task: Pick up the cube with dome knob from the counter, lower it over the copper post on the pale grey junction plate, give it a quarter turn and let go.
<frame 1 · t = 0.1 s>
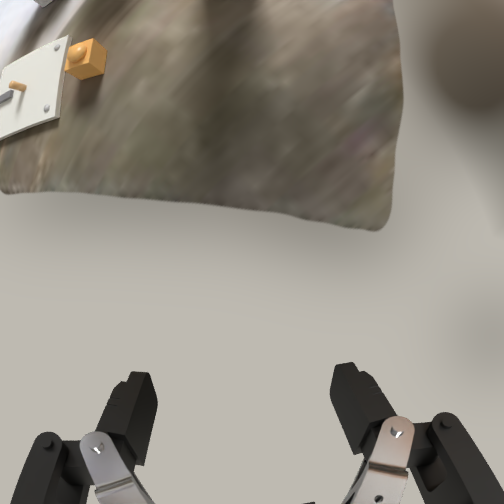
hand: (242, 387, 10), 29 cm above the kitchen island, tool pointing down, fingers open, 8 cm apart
cube with dome knob: (93, 65, 29), on the kitchen island
junction plate: (28, 89, 28), on the kitchen island
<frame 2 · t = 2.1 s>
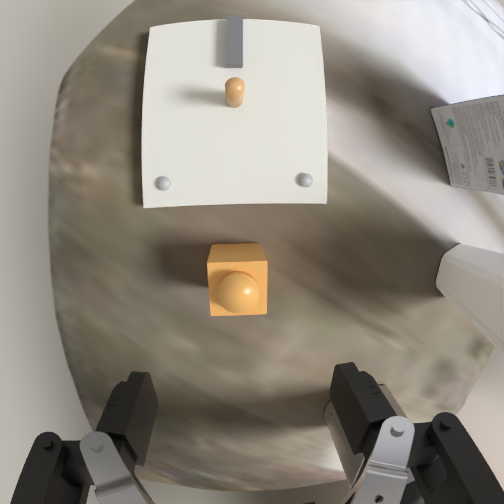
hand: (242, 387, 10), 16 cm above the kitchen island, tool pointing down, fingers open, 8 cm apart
cup: (453, 270, 28), on the kitchen island
cube with dome knob: (236, 266, 26), on the kitchen island
junction plate: (234, 104, 22), on the kitchen island
ink cartridge box: (453, 144, 24), on the kitchen island
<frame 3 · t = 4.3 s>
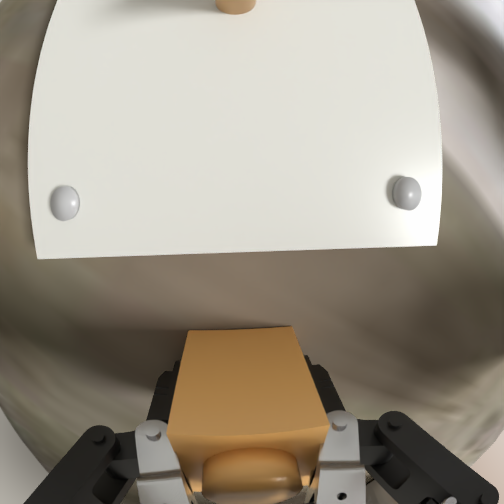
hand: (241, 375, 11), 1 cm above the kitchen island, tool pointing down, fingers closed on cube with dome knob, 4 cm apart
cube with dome knob: (241, 368, 12), on the kitchen island, touching gripper
junction plate: (234, 20, 8), on the kitchen island
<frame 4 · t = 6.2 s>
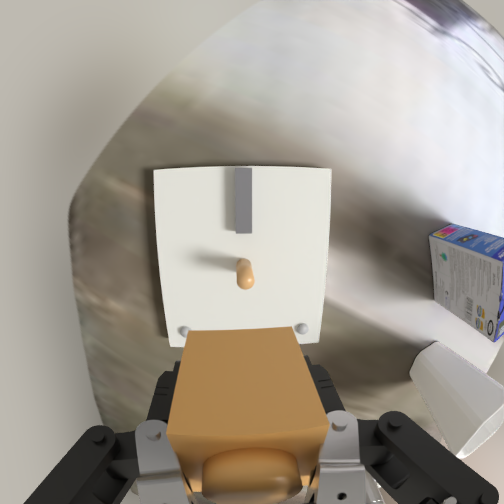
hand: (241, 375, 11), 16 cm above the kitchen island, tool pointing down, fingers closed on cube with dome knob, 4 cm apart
cup: (427, 360, 33), on the kitchen island
cube with dome knob: (241, 368, 12), point 16 cm above the kitchen island, touching gripper
junction plate: (243, 261, 27), on the kitchen island
ink cartridge box: (444, 262, 29), on the kitchen island
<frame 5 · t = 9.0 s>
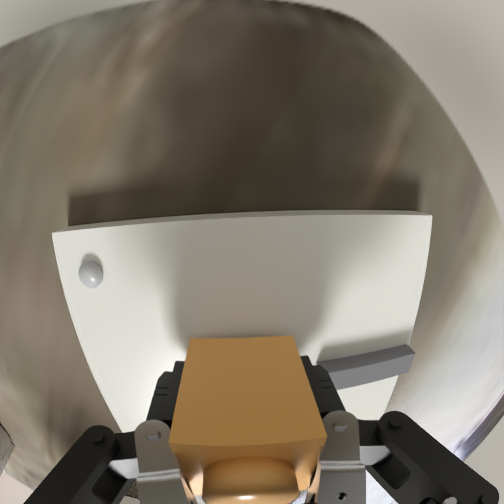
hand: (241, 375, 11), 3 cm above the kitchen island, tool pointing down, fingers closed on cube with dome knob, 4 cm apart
cup: (131, 501, 21), on the kitchen island
cube with dome knob: (242, 375, 12), point 2 cm above the kitchen island, touching gripper
junction plate: (251, 360, 14), on the kitchen island
when the fingers open (2 cm above the kitchen island, at t = 10.0 s): cube with dome knob stays where it is, resting on junction plate.
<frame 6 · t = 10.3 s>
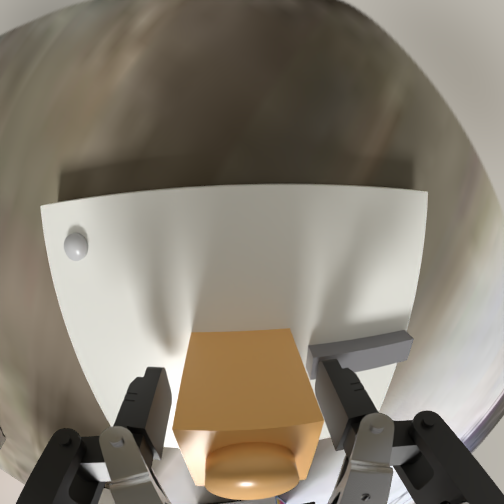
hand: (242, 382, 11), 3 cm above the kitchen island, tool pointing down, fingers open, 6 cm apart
cup: (122, 497, 20), on the kitchen island
cube with dome knob: (242, 368, 12), point 1 cm above the kitchen island, touching junction plate
junction plate: (239, 344, 14), on the kitchen island
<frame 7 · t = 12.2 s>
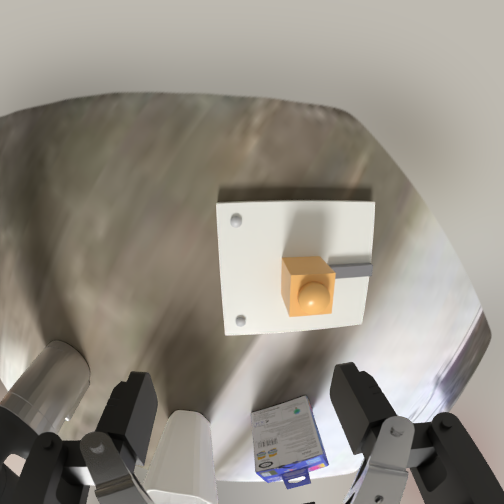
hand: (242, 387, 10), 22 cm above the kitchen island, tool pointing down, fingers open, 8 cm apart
cup: (189, 421, 40), on the kitchen island
cube with dome knob: (300, 275, 31), point 1 cm above the kitchen island, touching junction plate
junction plate: (297, 267, 32), on the kitchen island
ink cartridge box: (282, 411, 40), on the kitchen island
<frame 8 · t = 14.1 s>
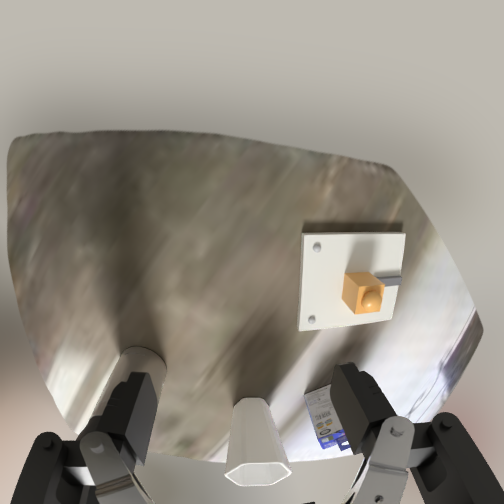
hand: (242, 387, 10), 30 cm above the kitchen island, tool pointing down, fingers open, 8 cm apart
cup: (251, 407, 50), on the kitchen island
cube with dome knob: (355, 285, 42), point 1 cm above the kitchen island, touching junction plate
junction plate: (351, 279, 43), on the kitchen island
ink cartridge box: (326, 392, 50), on the kitchen island
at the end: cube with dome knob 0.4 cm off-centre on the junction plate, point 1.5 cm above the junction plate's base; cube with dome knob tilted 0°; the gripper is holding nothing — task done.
